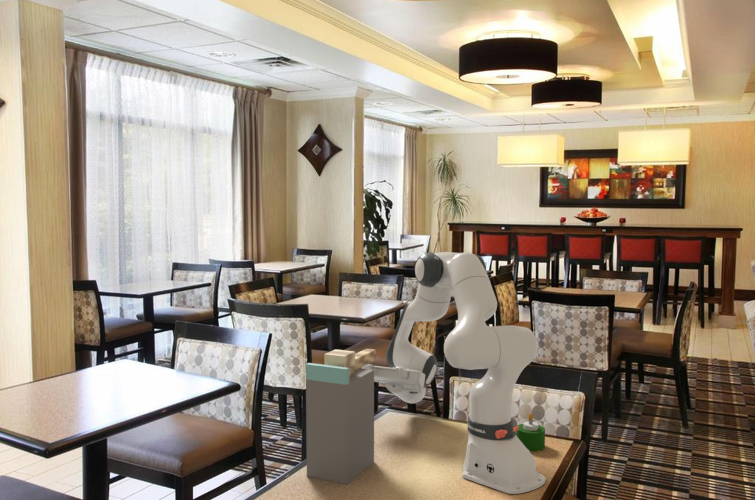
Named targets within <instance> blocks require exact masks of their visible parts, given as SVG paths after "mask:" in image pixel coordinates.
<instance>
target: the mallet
mask: <svg viewBox="0 0 755 500" xmlns="http://www.w3.org/2000/svg"><path fill="white" fill-rule="evenodd" d="M376 353H377V351H376V349H373V348H364V349H363V350H360V351H359V352H357V353H356V351H353V350H352V351H351V350H346V349H344V350H343V349H333V350H331V351H329V352H326V353H324V355H323V357H324V359H323V360H324V361H323V362H324V364H323V365H330V366H338V367H346V368H349V376H351V375H353V374H355V370H357V369H359V368H362V367H363V366H365V365H368V364H371V363H373V362H374V361H376V359H377V357H376Z"/></svg>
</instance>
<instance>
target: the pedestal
mask: <svg viewBox="0 0 755 500" xmlns="http://www.w3.org/2000/svg"><path fill="white" fill-rule="evenodd" d="M305 413H306V414H305V415H306V416H305V423H306V425H305V426H306V427H305V431H306V432H305V433H306V434H305V435H306V437H305V438H306V477H310V478H313V479H314V478H315V479H319V480H322V481H323V480H324V481H328V482H333V483H338V484H343V485H348V484H349V483H351V482H352V481H353V480H354V479H356V478H357V477H358V476H359V475H361V473H363V472H364V471H365V470H367V468H369V467H370V466H372V464H374V462H375V382H374V370H370V369H362V367H361V368H359V369H357V370H355V374H353V375H351V376H349V368H346V367H338V366H330V365H324V364H320V363H312V362H308V363H305Z"/></svg>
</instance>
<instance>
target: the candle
mask: <svg viewBox="0 0 755 500" xmlns="http://www.w3.org/2000/svg"><path fill="white" fill-rule="evenodd" d="M527 419H528V421H524V422H523V423H519V424H517V425H516V426H519V427H518V428H517V429H519V430H517V431H516V436H517V437H518V438H519V440H520V441H521V442H522V443H523V444H524V446H525V447H526V448H527V449H528V450H529V451H530V453H531V452H533V453H536V452H541V451H543V450H545V447H546V445H545V444H546V428H545V427H544V426H542V425H539V424H538V422H535V421H533V420H534V415H533V413H529V414H528V417H527Z"/></svg>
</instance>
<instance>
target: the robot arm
mask: <svg viewBox="0 0 755 500" xmlns="http://www.w3.org/2000/svg"><path fill="white" fill-rule="evenodd" d="M414 274H415V279H416V280H417V282H418V286H417V289H416V295H415V297H414V299H411V300H409V301H408V302H407V303H406V304H405V305H404V308H403V310H402V312H401V314H400V317H399V320H398V322H397V324H396V325H397V326H396V327H395V330H394V333H393V336H392V338H391V341H390V343H389V344H388V346H387V348H386V351H385V360H386V363H387V365H388V366H389V367H388V366H380V365H374V364H371V363H368V364H366V365H365V366H363V367H361V368H362V369H370V370H374V383H382V384H384V385H385V387H386V389H387V390H388V391H389V392H390V393H392V395H395V397H397V398H398V399H400V400H402V401H403V402H405V403H408V404H417V403H419V402H421V401H422V400H423V399H424V397H425V395H426V390H427V389H426V388H427V387H428V386H430V385H431V384H432V382H433V381H434V379H435V378H436V375H437V373H438V368H439V367H438V361H437V357H436V355H435V354H432V353H431V352H428V351H426V350H424V349H421V348H420V347H418V346H417V345H414V344H412V343H411V342H410V341H409V337H410V334H411V331H412V329H413V326H414V324H415V322H426V323H427V322H429V323H430V322H433V321H434V322H435V321H437V320H440V319H441V318H443V317H444V316H446V315H447V312H448V310H449V307H450V304H451V297H452V295H453V298H454V303H455V305H456V306H455V307H456V311H457V322H456V325H455V326H454V328H453V329H452V330H451V331H450V332H449V333H448V334H447V336H446V337H445V340H444V343H443V353H444V357H445V360H446V361H447V363H448V364H449V365H450V366H451V367H453V368H456V369H463V370H470V371H471V370H472V371H474V370H484V369H487V371H486V373H485V375H483V377H482V378H480V379H479V380H477V381H476V382H475V383H473V385H472V386H471V388H470V391H469V402H470V411H469V410H468V412H469V413H468V417H467V432H468V439H467V442H466V443H467V444H466V451H465V452H466V453H465V458H464V462H463V464H462V475H461V476H462V478H463V479H466V480H469V481H471V482H474V483H477V484H480V485H483V486H486V487H489V488H492V489H494V490H497V491H499V492H502V493H504V494H510V495H517V494H523V493H528V492H531V491H534V490H536V489H538V488H541V487H542V486H543V485H545V484H546V481H547V480H546V476H544V475H543V474H541V473H540V472H538V471H537V464H536V458H535V456H534V455H533V454H532V453H531V452H530V451H529V450H528V449H527V448H526V447H525V446H524V444H523V443H522V442H521V441H520V440H519V438H518V437H517V436H516V431H517V430H519V429H517V428H518V427H519V426H517V425H516V426H515V424H514V420H513V418H512V404H513V393H514V389H515V387H516V386H515V385H516V383H517V381H518V379H519V376H520V375H521V373H522V372H523V370H524V369H525V368H526V367H527V366H528V365H529V364H531V363H532V362H533V361H534V359H535V358H536V356H537V354H538V353H537V352H538V349H539V347H538V346H539V344H538V340H537V337H536V335H535V334H534V332H533V331H532V330H531V329H530V328H528V327H526V326H519V325H509V324H508V325H494V326H489V325H487V323H486V321H488V320H489V319H490V318H491V317H493V316H494V314H495V313H496V311H497V307H498V301H497V297H496V295H495V292H494V289H493V286H492V284H491V283H492V282H491V280H490V278H489V275H488V273H487V266H486V262H485V260H484V258H483V257H482V256H480V255H478V254H474V253H472V252H465V251H464V252H452V251H440V252H432V251H429V252H425V253H421V254H420V255H419V256H418V257H417V260H416V261H415V266H414Z"/></svg>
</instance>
